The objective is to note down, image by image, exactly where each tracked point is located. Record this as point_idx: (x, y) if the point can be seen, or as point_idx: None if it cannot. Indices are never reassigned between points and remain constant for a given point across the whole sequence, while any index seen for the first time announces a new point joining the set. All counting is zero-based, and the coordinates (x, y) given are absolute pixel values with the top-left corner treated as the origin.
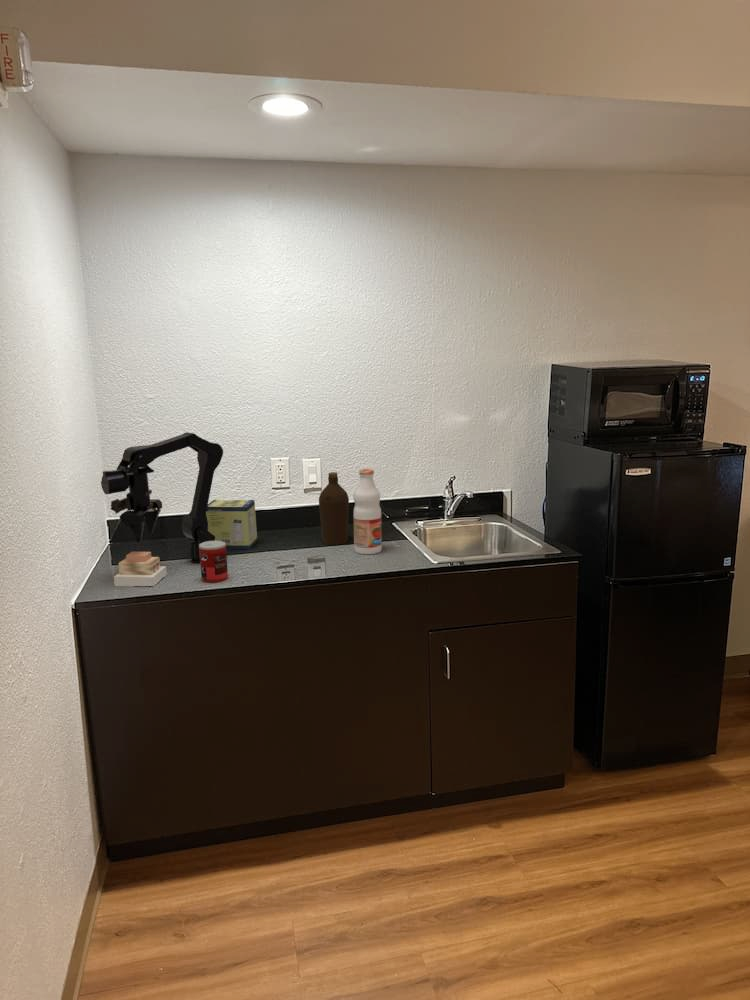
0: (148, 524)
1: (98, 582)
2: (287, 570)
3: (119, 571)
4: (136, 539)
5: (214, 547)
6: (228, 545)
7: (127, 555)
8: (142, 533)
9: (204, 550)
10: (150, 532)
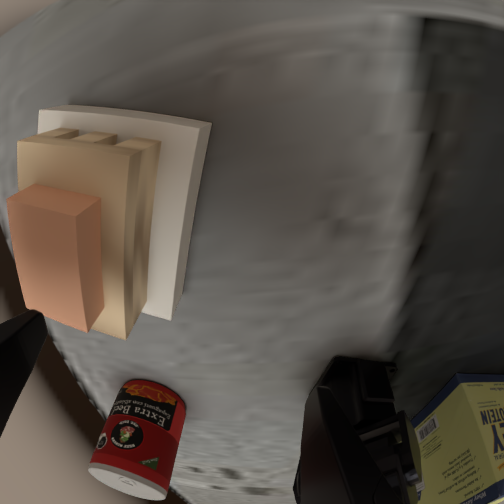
0: (326, 475)
1: (127, 7)
2: (207, 472)
3: (49, 131)
4: (14, 324)
5: (97, 478)
6: (420, 423)
7: (8, 208)
8: (13, 401)
9: (90, 461)
10: (310, 404)
